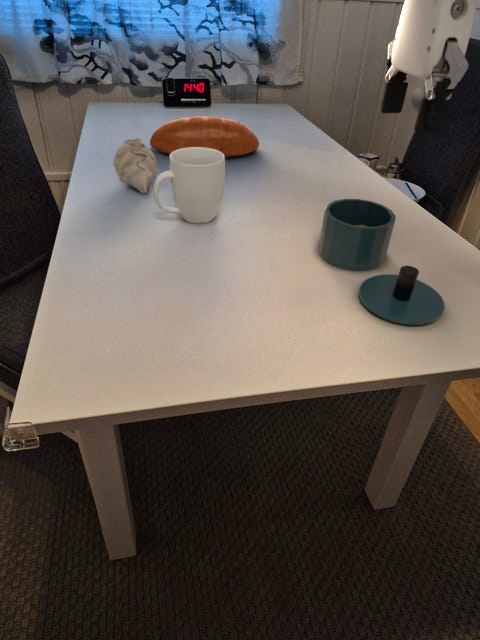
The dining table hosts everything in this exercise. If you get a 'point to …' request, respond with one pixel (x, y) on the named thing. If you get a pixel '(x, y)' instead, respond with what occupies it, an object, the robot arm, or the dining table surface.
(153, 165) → the seashell
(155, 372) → the dining table surface
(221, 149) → the bread
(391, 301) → the lid
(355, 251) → the pot
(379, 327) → the dining table surface
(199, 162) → the mug
